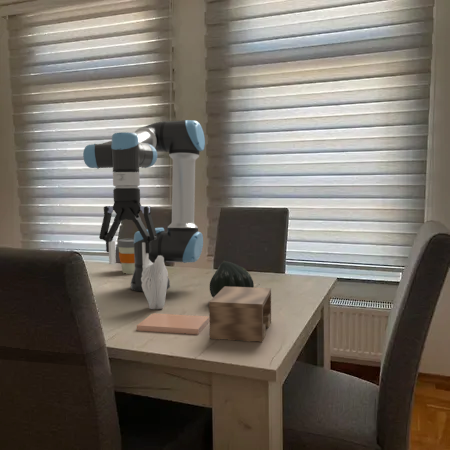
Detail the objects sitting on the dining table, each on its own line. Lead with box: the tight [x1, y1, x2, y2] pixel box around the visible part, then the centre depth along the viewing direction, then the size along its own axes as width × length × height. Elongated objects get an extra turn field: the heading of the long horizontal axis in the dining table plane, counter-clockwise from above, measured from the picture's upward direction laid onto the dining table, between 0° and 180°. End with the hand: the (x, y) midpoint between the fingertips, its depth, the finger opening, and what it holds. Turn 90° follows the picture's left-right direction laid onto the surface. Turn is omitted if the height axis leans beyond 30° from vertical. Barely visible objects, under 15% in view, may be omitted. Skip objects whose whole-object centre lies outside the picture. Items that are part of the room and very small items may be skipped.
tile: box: [136, 312, 210, 335], centre depth 135 cm, size 18×12×2 cm, turn 77°
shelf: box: [208, 286, 272, 343], centre depth 130 cm, size 14×18×10 cm
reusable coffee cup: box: [117, 237, 135, 275], centre depth 214 cm, size 13×13×15 cm
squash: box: [209, 260, 255, 299], centre depth 159 cm, size 14×15×15 cm
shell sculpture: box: [141, 256, 169, 310], centre depth 152 cm, size 8×8×18 cm
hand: (129, 263), depth 136 cm, fingers open, 10 cm apart
